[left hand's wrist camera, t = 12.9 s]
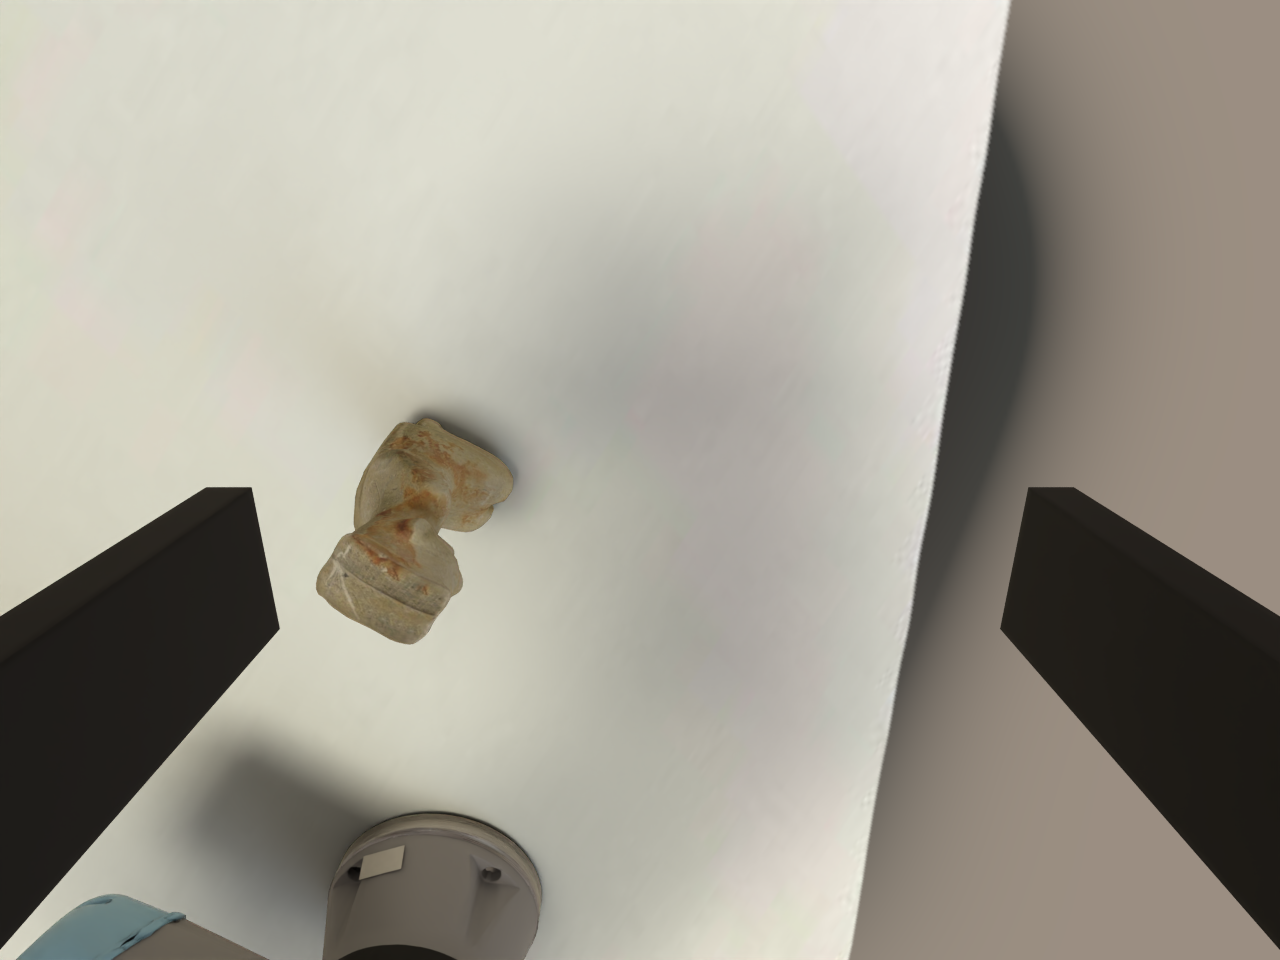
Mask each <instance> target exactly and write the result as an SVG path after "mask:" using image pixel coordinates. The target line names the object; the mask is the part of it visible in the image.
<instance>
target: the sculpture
mask: <svg viewBox="0 0 1280 960" xmlns="http://www.w3.org/2000/svg"><path fill="white" fill-rule="evenodd" d="M512 488H513V477H512V474H511V472H510V471H509V469H508V468H507V466H506V465H505V464H504V463H503V462H502V461H501V460H500V459H498V458H497V457H496V456H494V455H493V454H491V453H489V452H487V451H486V450H484V449H482V448H480V447H478V446H476V445H474V444H472V443H470V442H468V441H466V440H464V439H461V438H459V437H457V436H455V435H453V434H451V433H449V432H447V431H445V430H444V429H442V426H441V425H440V424H439V423H438V422H436V421H434V420H431V419H428V418H424V419H422V420H420V421H419V422H417V423H416V424H412V423H407V422H403V423H399V424H398V425H397V426H396V427H395V428H394V429H393V430H392V432H391V433H390V434H389V435H388V436H387V438H386V439H385V440H384V442H383V443H382V445H381V446H380V448H379V449H378V451H377V452H376V454H375V455H374V457H373V458H372V460H371V462H370V463H369V465H368V466H367V468H366V469H365V471H364V473H363V476H362V478H361V481H360V483H359V486H358V488H357V492H356V496H355V509H354V527H355V531H354V532H353V533H349V534H346V535H345V536H343V537H342V538H341V539H340V541H339V542H338V544H337V546H336V547H335V549H334V552H333V553H332V555H331V557H330V558H329V560H328V561H327V563H326V564H325V565H324V566H323V568H322V569H321V571H320V573H319V575H318V577H317V582H316V590H317V592H318V594H319V595H320V596H322V597H323V598H324V599H326V601H327V602H328V603H329V604H330V605H331V606H332V607H333V608H335V609H336V610H338V611H339V612H341V613H342V614H343V615H345V616H346V617H348V618H350V619H352V620H354V621H356V622H358V623H360V624H362V625H364V626H366V627H369V628H371V629H372V630H374V631H376V632H378V633H380V634H381V635H383V636H385V637H387V638H389V639H390V640H393V641H396V642H399V643H403V644H414V643H416V642H417V641H419V640H420V639H422V638H423V637H424V636H425V635H426V634H427V633H428V632H429V630H430V628H431V626H432V624H433V622H434V621H435V619H436V617H437V616H438V615H439V614H440V613H441V612H442V610H443V609H444V608H445V607H446V605H447V603H448V602H449V600H450V598H451V597H452V596H453V595H455V594H457V593H458V592H459V591H460V590H461V588H462V586H463V579H462V575H461V573H460V570H459V566H458V562H457V559H456V558H455V556H454V550H453V548H452V547H451V546H450V545H449V544H448V543H447V542H446V541H444V540H443V539H442V538H441V537H440V536H438V535H437V534H438V532H439V531H440V529H441V528H445V529H449V530H454V531H460V532H470V531H474V530H476V529H478V528H480V527H481V526H482V525H484V524H485V523H486V522H487V521H488V520H489V519H490V517H491V515H492V512H493V510H494V508H493V504H495V503H499V502H503V501H504V500H505V499H506V498H507V497H508V495H509V494H510V493H511V491H512Z"/></svg>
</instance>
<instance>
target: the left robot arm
mask: <svg viewBox="0 0 1280 960" xmlns="http://www.w3.org/2000/svg"><path fill="white" fill-rule="evenodd" d="M279 629H280V628H279V623H278V618H277V613H276V608H275V603H274V597H273V592H272V587H271V582H270V577H269V572H268V567H267V562H266V557H265V552H264V547H263V542H262V537H261V532H260V527H259V522H258V517H257V512H256V507H255V502H254V497H253V492H252V487H206V488H204V489H203V490H201V491H200V492H198V493H196V494H195V495H193V496H192V497H190V498H188V499H187V500H185V501H184V502H182V503H180V504H179V505H177V506H176V507H174V508H172V509H171V510H169V511H168V512H166V513H165V514H163V515H161V516H160V517H158V518H157V519H155V520H153V521H152V522H150V523H149V524H147V525H145V526H144V527H142V528H141V529H139V530H137V531H136V532H134V533H133V534H131V535H129V536H128V537H126V538H125V539H123V540H121V541H120V542H118V543H117V544H115V545H113V546H112V547H110V548H109V549H107V550H105V551H104V552H102V553H101V554H99V555H97V556H96V557H94V558H93V559H91V560H90V561H88V562H86V563H85V564H83V565H82V566H80V567H78V568H77V569H75V570H74V571H72V572H70V573H69V574H67V575H66V576H64V577H62V578H61V579H59V580H58V581H56V582H54V583H53V584H51V585H50V586H48V587H46V588H45V589H43V590H42V591H40V592H38V593H37V594H35V595H34V596H32V597H30V598H29V599H27V600H26V601H24V602H22V603H21V604H19V605H18V606H16V607H14V608H13V609H11V610H10V611H8V612H7V613H5V614H3V615H2V616H0V949H1V948H2V947H3V946H4V945H5V944H6V942H7V941H8V940H9V939H10V938H11V937H12V936H13V934H14V933H15V932H16V931H17V930H18V929H19V927H20V926H21V925H22V924H23V923H24V922H25V921H26V919H27V918H28V917H29V916H30V915H31V914H32V913H33V911H34V910H35V909H36V908H37V907H38V906H39V905H40V903H41V902H42V901H43V900H44V899H45V898H46V897H47V895H48V894H49V893H50V892H51V891H52V890H53V888H54V887H55V886H56V885H57V884H58V883H59V882H60V880H61V879H62V878H63V877H64V876H65V875H66V874H67V872H68V871H69V870H70V869H71V868H72V867H73V866H74V864H75V863H76V862H77V861H78V860H79V859H80V858H81V856H82V855H83V854H84V853H85V852H86V851H87V849H88V848H89V847H90V846H91V845H92V844H93V843H94V841H95V840H96V839H97V838H98V837H99V836H100V835H101V833H102V832H103V831H104V830H105V829H106V828H107V827H108V825H109V824H110V823H111V822H112V821H113V820H114V819H115V817H116V816H117V815H118V814H119V813H120V812H121V810H122V809H123V808H124V807H125V806H126V805H127V804H128V802H129V801H130V800H131V799H132V798H133V797H134V796H135V794H136V793H137V792H138V791H139V790H140V789H141V788H142V786H143V785H144V784H145V783H146V782H147V781H148V779H149V778H150V777H151V776H152V775H153V774H154V773H155V771H156V770H157V769H158V768H159V767H160V766H161V765H162V763H163V762H164V761H165V760H166V759H167V758H168V757H169V755H170V754H171V753H172V752H173V751H174V750H175V749H176V747H177V746H178V745H179V744H180V743H181V742H182V740H183V739H184V738H185V737H186V736H187V735H188V734H189V732H190V731H191V730H192V729H193V728H194V727H195V726H196V724H197V723H198V722H199V721H200V720H201V719H202V718H203V716H204V715H205V714H206V713H207V712H208V711H209V710H210V708H211V707H212V706H213V705H214V704H215V703H216V701H217V700H218V699H219V698H220V697H221V696H222V695H223V693H224V692H225V691H226V690H227V689H228V688H229V687H230V685H231V684H232V683H233V682H234V681H235V680H236V679H237V677H238V676H239V675H240V674H241V673H242V672H243V670H244V669H245V668H246V667H247V666H248V665H249V664H250V662H251V661H252V660H253V659H254V658H255V657H256V656H257V654H258V653H259V652H260V651H261V650H262V649H263V648H264V646H265V645H266V644H267V643H268V642H269V641H270V640H271V638H272V637H273V636H274V635H275V634H276V633H277V631H278V630H279ZM1000 629H1001V630H1002V631H1003V633H1004V634H1005V635H1006V636H1007V637H1008V638H1009V639H1010V641H1011V642H1012V643H1013V644H1014V645H1015V646H1016V648H1017V649H1018V650H1019V651H1020V652H1021V653H1022V654H1023V656H1024V657H1025V658H1026V659H1027V660H1028V661H1029V662H1030V664H1031V665H1032V666H1033V667H1034V668H1035V669H1036V671H1037V672H1038V673H1039V674H1040V675H1041V676H1042V677H1043V679H1044V680H1045V681H1046V682H1047V683H1048V684H1049V685H1050V687H1051V688H1052V689H1053V690H1054V691H1055V692H1056V693H1057V695H1058V696H1059V697H1060V698H1061V699H1062V700H1063V701H1064V703H1065V704H1066V705H1067V706H1068V707H1069V708H1070V710H1071V711H1072V712H1073V713H1074V714H1075V715H1076V716H1077V718H1078V719H1079V720H1080V721H1081V722H1082V723H1083V724H1084V725H1085V727H1086V728H1087V729H1088V730H1089V731H1090V732H1091V734H1092V735H1093V736H1094V737H1095V738H1096V739H1097V740H1098V742H1099V743H1100V744H1101V745H1102V746H1103V747H1104V749H1105V750H1106V751H1107V752H1108V753H1109V754H1110V755H1111V757H1112V758H1113V759H1114V760H1115V761H1116V762H1117V763H1118V765H1119V766H1120V767H1121V768H1122V769H1123V770H1124V771H1125V773H1126V774H1127V775H1128V776H1129V777H1130V778H1131V779H1132V781H1133V782H1134V783H1135V784H1136V785H1137V786H1138V788H1139V789H1140V790H1141V791H1142V792H1143V793H1144V794H1145V796H1146V797H1147V798H1148V799H1149V800H1150V801H1151V802H1152V804H1153V805H1154V806H1155V807H1156V808H1157V809H1158V810H1159V812H1160V813H1161V814H1162V815H1163V816H1164V817H1165V818H1166V820H1167V821H1168V822H1169V823H1170V824H1171V825H1172V827H1173V828H1174V829H1175V830H1176V831H1177V832H1178V833H1179V835H1180V836H1181V837H1182V838H1183V839H1184V840H1185V841H1186V843H1187V844H1188V845H1189V846H1190V847H1191V848H1192V849H1193V851H1194V852H1195V853H1196V854H1197V855H1198V856H1199V858H1200V859H1201V860H1202V861H1203V862H1204V863H1205V864H1206V866H1207V867H1208V868H1209V869H1210V870H1211V871H1212V872H1213V874H1214V875H1215V876H1216V877H1217V878H1218V879H1219V880H1220V882H1221V883H1222V884H1223V885H1224V886H1225V887H1226V888H1227V890H1228V891H1229V892H1230V893H1231V894H1232V895H1233V897H1234V898H1235V899H1236V900H1237V901H1238V902H1239V903H1240V905H1241V906H1242V907H1243V908H1244V909H1245V910H1246V911H1247V913H1248V914H1249V915H1250V916H1251V917H1252V918H1253V919H1254V921H1255V922H1256V923H1257V924H1258V925H1259V926H1260V927H1261V929H1262V930H1263V931H1264V932H1265V933H1266V934H1267V936H1268V937H1269V938H1270V939H1271V940H1272V941H1273V942H1274V943H1275V945H1276V946H1277V947H1278V948H1279V949H1280V616H1278V615H1277V614H1275V613H1273V612H1272V611H1270V610H1269V609H1267V608H1265V607H1264V606H1262V605H1261V604H1259V603H1257V602H1256V601H1254V600H1253V599H1251V598H1250V597H1248V596H1246V595H1245V594H1243V593H1242V592H1240V591H1238V590H1237V589H1235V588H1234V587H1232V586H1230V585H1229V584H1227V583H1226V582H1224V581H1222V580H1221V579H1219V578H1218V577H1216V576H1214V575H1213V574H1211V573H1210V572H1208V571H1206V570H1205V569H1203V568H1202V567H1200V566H1198V565H1197V564H1195V563H1194V562H1192V561H1190V560H1189V559H1187V558H1186V557H1184V556H1183V555H1181V554H1179V553H1178V552H1176V551H1175V550H1173V549H1171V548H1170V547H1168V546H1167V545H1165V544H1163V543H1162V542H1160V541H1159V540H1157V539H1155V538H1154V537H1152V536H1151V535H1149V534H1147V533H1146V532H1144V531H1143V530H1141V529H1139V528H1138V527H1136V526H1135V525H1133V524H1131V523H1130V522H1128V521H1127V520H1125V519H1123V518H1122V517H1120V516H1119V515H1117V514H1115V513H1114V512H1112V511H1111V510H1109V509H1107V508H1106V507H1104V506H1103V505H1101V504H1099V503H1098V502H1096V501H1095V500H1093V499H1092V498H1090V497H1088V496H1087V495H1085V494H1084V493H1082V492H1080V491H1079V490H1077V489H1076V488H1074V487H1029V488H1028V492H1027V497H1026V502H1025V507H1024V512H1023V517H1022V522H1021V527H1020V532H1019V537H1018V543H1017V547H1016V552H1015V557H1014V563H1013V567H1012V573H1011V577H1010V582H1009V587H1008V592H1007V598H1006V602H1005V608H1004V613H1003V618H1002V623H1001V628H1000ZM541 901H542V891H541V884H540V881H539V877H538V875H537V872H536V870H535V868H534V866H533V864H532V863H531V861H530V860H529V858H528V857H527V856H526V854H525V853H524V852H523V851H522V850H521V849H520V848H519V847H518V846H517V845H516V844H515V843H514V842H512V841H511V840H510V839H509V838H507V837H506V836H504V835H503V834H501V833H500V832H498V831H496V830H494V829H492V828H491V827H488V826H486V825H484V824H482V823H479V822H476V821H473V820H470V819H466V818H463V817H458V816H453V815H445V814H414V815H407V816H402V817H398V818H395V819H391V820H388V821H386V822H383V823H381V824H379V825H377V826H375V827H373V828H371V829H369V830H368V831H366V832H365V833H364V834H362V835H361V836H360V837H359V838H358V839H357V840H356V841H355V842H354V843H353V844H352V845H351V846H350V847H349V849H348V850H347V852H346V853H345V855H344V857H343V859H342V861H341V863H340V865H339V867H338V870H337V872H336V874H335V876H334V878H333V881H332V883H331V886H330V889H329V894H328V906H327V917H326V927H325V938H324V949H323V960H524V958H525V956H526V954H527V952H528V950H529V948H530V946H531V945H532V943H533V941H534V938H535V936H536V933H537V929H538V922H539V915H540V908H541ZM16 960H269V959H267V958H264V957H262V956H260V955H258V954H256V953H254V952H252V951H250V950H248V949H246V948H244V947H242V946H240V945H238V944H236V943H234V942H232V941H229V940H227V939H225V938H223V937H221V936H219V935H217V934H215V933H213V932H211V931H209V930H207V929H205V928H203V927H201V926H199V925H197V924H195V923H192V922H190V921H188V920H186V915H184V914H182V913H179V912H172V913H167V912H165V911H162V910H160V909H157V908H155V907H152V906H150V905H148V904H145V903H143V902H140V901H138V900H135V899H133V898H130V897H128V896H124V895H119V894H108V895H103V896H99V897H96V898H93V899H91V900H88V901H86V902H84V903H83V904H81V905H79V906H78V907H76V908H75V909H73V910H72V911H71V912H69V913H68V914H66V915H65V916H64V917H62V918H61V919H60V920H59V921H58V922H56V923H55V924H54V925H53V926H52V927H51V928H49V929H48V930H47V931H46V932H45V933H44V934H43V935H42V936H41V937H39V938H38V939H37V940H36V941H35V942H34V943H33V944H32V945H31V946H30V947H29V948H28V949H27V950H26V951H24V952H23V953H22V954H21V955H20V956H19V957H18V958H17V959H16Z"/></svg>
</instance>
